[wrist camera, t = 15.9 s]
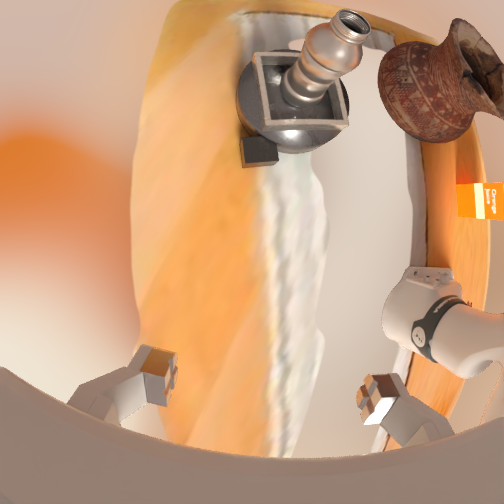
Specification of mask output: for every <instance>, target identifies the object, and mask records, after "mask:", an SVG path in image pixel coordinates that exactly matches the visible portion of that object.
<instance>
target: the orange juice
mask: <svg viewBox="0 0 504 504" xmlns="http://www.w3.org/2000/svg"><path fill="white" fill-rule="evenodd" d="M456 190H457V203H458V217H471V218H481V219H495V220H504V183H503V182H502V183H475V184H459V185H456Z"/></svg>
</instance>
